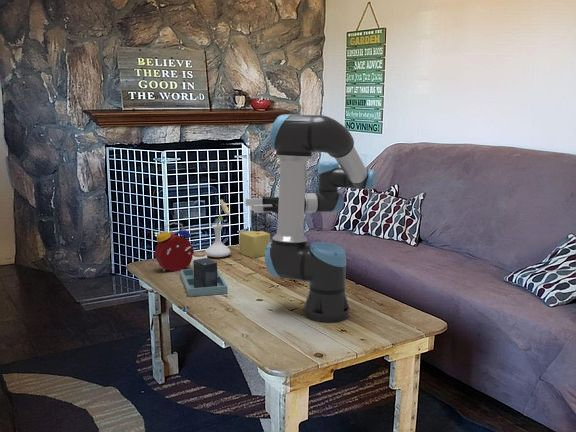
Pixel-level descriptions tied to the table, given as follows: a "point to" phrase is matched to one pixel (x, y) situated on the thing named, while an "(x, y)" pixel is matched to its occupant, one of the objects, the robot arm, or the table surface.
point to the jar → (198, 257)
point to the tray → (191, 290)
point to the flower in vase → (218, 237)
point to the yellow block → (253, 243)
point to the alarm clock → (173, 250)
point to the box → (205, 273)
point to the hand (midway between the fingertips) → (249, 205)
